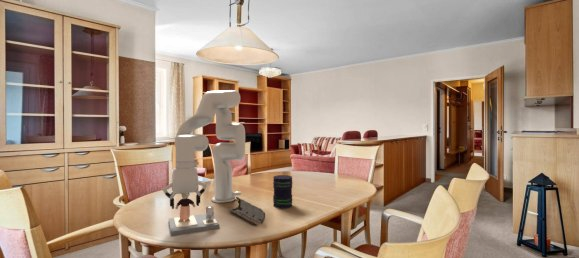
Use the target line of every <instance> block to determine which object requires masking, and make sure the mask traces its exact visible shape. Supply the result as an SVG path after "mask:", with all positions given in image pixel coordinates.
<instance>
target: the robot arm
mask: <svg viewBox="0 0 579 258" xmlns="http://www.w3.org/2000/svg"><path fill="white" fill-rule="evenodd" d="M240 102H241V94H240V92H239V91H237V90H232V89H231V90H230V89H229V90H210V91H206V92H204V94H203V95H202V97H201V99H200V102H199V104H198V107H197V109H196V112H195V113H194V114H193V115H192V116H190V117H189V118H188V119H187V120H185V121H183V123H182V124H181V125H180V127H179V128H178V130H177V133H176V135H175V137H174V148H175V152H174V153H175V154H174V155H175V167H174V168H173V169H172V174H171V175H172V176H171V183H170V184H168V185H166V186H164V187H162V192H163V194H164V195H165V196H166V197H167V198H169V206H170V207H171V209H172V210H173V209H175V199H174V197H175V196H176V195H181V194H182V193H196V196H195V206H197V207H199V206H200V204H201V197H202V195H203V193H205V190H206V189H207V187H208V184H207V183H205V182H201V181H199V175H198V168H197V167H196V166H199V161H196V152H204V151H205V150H207V148H208V147H209V145H210V143H209V139H208V138H209V137H207V136H206V135H204V134H199V133H196V134H195V133H193V132H194V131H196V130H198V129H200V128H203V127H205V126H207V125H209V124H212V123H213V121H214V119H215V135H216V136H215V137H216V139H217V140H221V141H234V142H218V143H215V144H214V146H213V147H212V157H213V161H214V163H213V164H214V196H213V197H212V198H211V201H212V202H213V203H217V204H221V203H223V204H224V203H225V204H226V203H229V202H231V203H232V202H234V201H235V200H236V197H237V196H241V195H242V192H241V191H234V190H233V166H232V164H231V162H230V161H241V160H244V158H245V156H246V130H245V126H244V125H243V123H239V122H233V118H232V117H233V115H232V114H233V113H232V112H231V110H230V109H231V108H236V107H237V106H239V105H240ZM199 186H201V187H202V188H201V189H200V190H199ZM169 189H171V191H172V192H168V190H169Z"/></svg>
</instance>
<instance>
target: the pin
mask: <svg viewBox="0 0 579 258" xmlns="http://www.w3.org/2000/svg"><path fill="white" fill-rule="evenodd" d="M214 208H215V207H214V206H213V205H208V206H205V214H206V222H207V223H211V222H214V217H215V216H214V214H215V213H214V212H215V211H214V210H215V209H214Z"/></svg>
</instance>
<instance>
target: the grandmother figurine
mask: <svg viewBox="0 0 579 258" xmlns="http://www.w3.org/2000/svg"><path fill="white" fill-rule="evenodd" d="M190 195H191V194H190V193H182V194H180V196H181V197H182V198H181V199H180V200H178V202H176V205H175V206H174V209H175V210H178V209H179V207H180V209H179V217H180V220H179V221H178V222H183V221H184V220H185V221H186V222H187V221H190V219H189V218H190V216H191V215H190V214H191V208H190V205H192V208H195V207H196V203H195V201H194V200H192V199H191V198H189V197H190Z"/></svg>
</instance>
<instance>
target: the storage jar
mask: <svg viewBox="0 0 579 258" xmlns="http://www.w3.org/2000/svg"><path fill="white" fill-rule="evenodd" d="M272 178H273V182H272V184H273V187H272V188H273V197H272V198H273V199H272V202H273V207H274V208H275V209H281V210H284V209H290V208H292V207H293V194H292V193H293V192H292V191H293V190H292V189H293V176H292V175H284V174H280V175H274V176H273V177H272Z"/></svg>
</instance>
